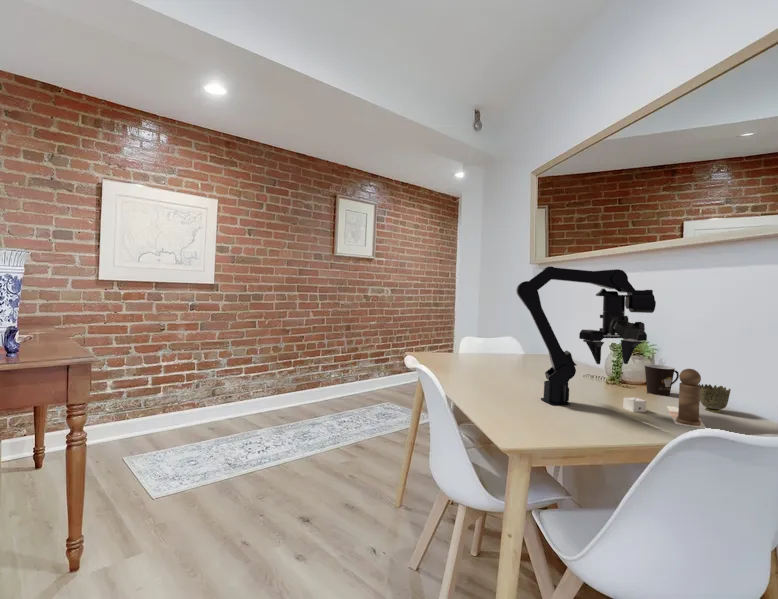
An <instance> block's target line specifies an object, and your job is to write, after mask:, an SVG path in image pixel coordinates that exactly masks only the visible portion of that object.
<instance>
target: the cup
mask: <svg viewBox="0 0 778 599" xmlns="http://www.w3.org/2000/svg"><path fill="white" fill-rule="evenodd" d="M698 385H700V404H702V406H703V407H704V408H705V409H704V410H705V411H707V412H712V413H721V412H722V411H721V410H723V409H725V408H726V407H727V406H728V403H729V400H730V399H729V398H730V395H731V388H728V389H727V387H726V386H725V387H724V386H723V385H719V386H717V384H715V385H713V386H712V385H711V384H707V383H706V384H703V383H699V384H698Z"/></svg>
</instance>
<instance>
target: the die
mask: <svg viewBox="0 0 778 599" xmlns="http://www.w3.org/2000/svg"><path fill="white" fill-rule="evenodd" d="M622 408H623V409H625V410H627V411H630V412H633V413H641V412H642V413H645V412H646V411H647V400H644V399H641V398H638V397H623V404H622Z"/></svg>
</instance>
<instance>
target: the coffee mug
mask: <svg viewBox="0 0 778 599" xmlns="http://www.w3.org/2000/svg"><path fill="white" fill-rule="evenodd" d="M644 372H645V383H646V394H651V395H653V396H654V395H656V396H666V397H667V396H668V397H669V396H670V395H671V392H672V386H673V385H674V384H675V383H676V382H678V379H680V378H679V375H680V373H679V371H677V370H676V368H675V367H674V366H668V365H663V364H662V365H661V364H651V363H650V364H649V363H648V364H644ZM675 374H676V377H675V379H674V375H675Z"/></svg>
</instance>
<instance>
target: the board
mask: <svg viewBox="0 0 778 599" xmlns="http://www.w3.org/2000/svg"><path fill="white" fill-rule="evenodd" d="M666 407H667V409H668V411H669V413H670V414H669V415H670V416H671V418H672V420H673V422H674V424H675V425H679V426H680V425H681V426H686V427H694V428H700V429H705V428H707V427H706V425H705V424H704V422H703V421H702V420H701V418H700V417H699V420H700V421H701V425H699V426H693V425H686V424H682V423H679V422H677V421H676V417H678V411H679V406H678V407H677V406H672V405H671V406H669V405H666Z"/></svg>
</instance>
